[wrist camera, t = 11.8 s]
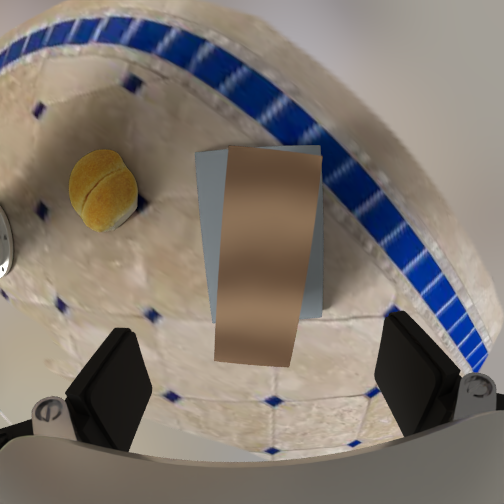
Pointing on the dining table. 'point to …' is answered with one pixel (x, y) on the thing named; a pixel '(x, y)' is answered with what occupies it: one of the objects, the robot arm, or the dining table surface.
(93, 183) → the bread roll
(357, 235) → the dining table surface
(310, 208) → the brown wooden block
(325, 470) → the robot arm
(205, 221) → the peg stand
